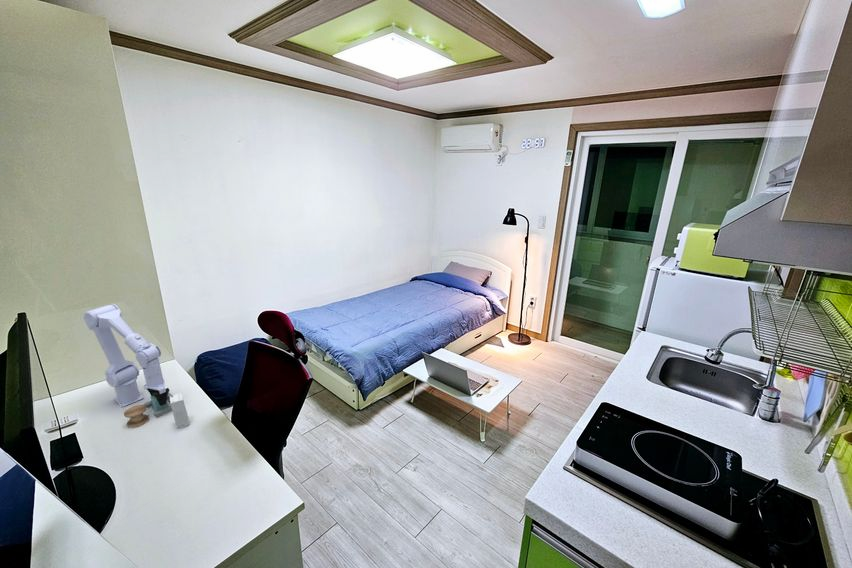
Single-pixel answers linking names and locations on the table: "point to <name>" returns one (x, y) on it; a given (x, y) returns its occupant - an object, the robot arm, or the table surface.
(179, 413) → the skincare box
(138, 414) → the spool
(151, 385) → the robot arm
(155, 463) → the table surface
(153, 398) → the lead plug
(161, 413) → the gray u-shaped block
